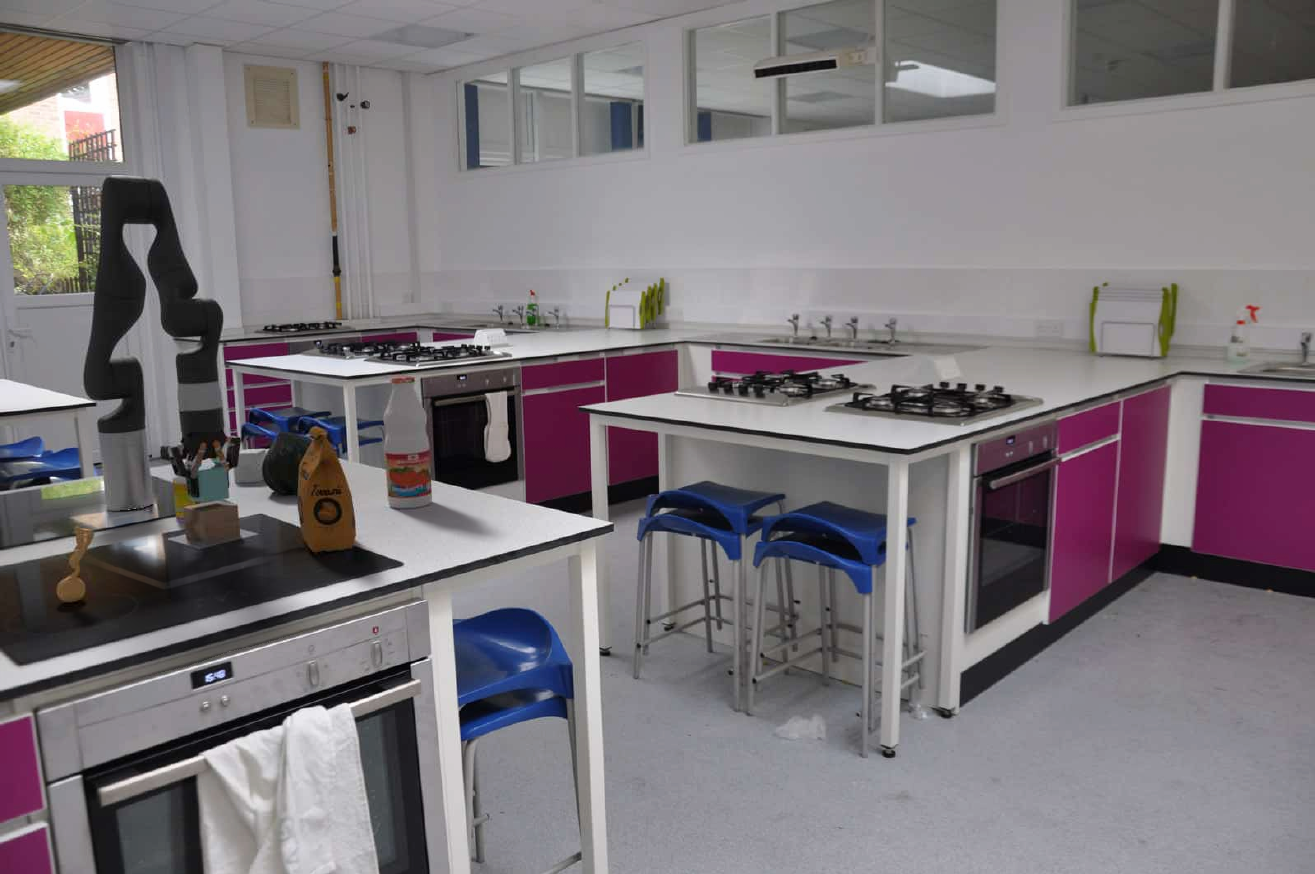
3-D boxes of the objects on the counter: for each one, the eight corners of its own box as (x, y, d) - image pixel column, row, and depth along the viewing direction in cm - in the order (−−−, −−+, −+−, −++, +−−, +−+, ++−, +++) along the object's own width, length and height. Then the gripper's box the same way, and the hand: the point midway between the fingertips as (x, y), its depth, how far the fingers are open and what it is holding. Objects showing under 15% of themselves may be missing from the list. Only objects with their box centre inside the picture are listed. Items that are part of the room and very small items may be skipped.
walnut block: (186, 537, 193) (183, 507, 192) (220, 529, 198) (217, 500, 197) (205, 543, 189) (202, 512, 188) (240, 535, 194) (237, 504, 193)
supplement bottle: (198, 526, 205) (192, 464, 203) (169, 525, 207) (163, 463, 204) (218, 518, 212) (213, 458, 210) (190, 517, 213) (184, 457, 211)
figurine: (57, 596, 163) (48, 524, 161) (100, 590, 166) (92, 519, 164) (58, 611, 156) (48, 536, 153) (102, 604, 159) (93, 530, 156)
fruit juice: (428, 497, 227) (421, 373, 223) (436, 506, 219) (428, 377, 214) (385, 502, 224) (377, 376, 219) (391, 511, 215) (383, 380, 210)
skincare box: (258, 482, 246) (256, 453, 245) (234, 483, 247) (231, 453, 245) (268, 477, 252) (266, 448, 251) (244, 477, 252) (241, 448, 251)
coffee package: (302, 557, 183) (292, 437, 179) (300, 539, 194) (291, 426, 190) (359, 550, 186) (350, 432, 182) (354, 534, 197) (346, 423, 194)
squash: (350, 466, 236) (316, 416, 239) (297, 481, 224) (262, 428, 227) (324, 500, 244) (292, 451, 247) (271, 516, 231) (238, 464, 234)
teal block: (190, 499, 192) (187, 469, 191) (215, 494, 196) (212, 464, 195) (204, 503, 189) (201, 471, 188) (229, 498, 193) (226, 467, 192)
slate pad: (167, 543, 193) (166, 538, 192) (226, 530, 202) (225, 525, 202) (200, 553, 186) (199, 548, 185) (259, 539, 195) (259, 534, 195)
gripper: (225, 400, 197) (233, 485, 200) (152, 409, 186) (162, 499, 189) (247, 402, 193) (254, 489, 196) (173, 412, 181) (182, 504, 184)
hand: (209, 493), depth 192 cm, fingers closed on teal block, 5 cm apart
